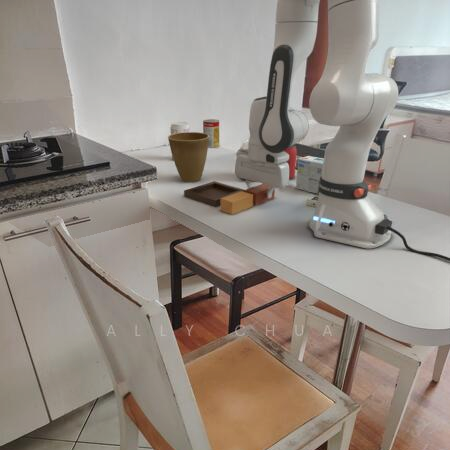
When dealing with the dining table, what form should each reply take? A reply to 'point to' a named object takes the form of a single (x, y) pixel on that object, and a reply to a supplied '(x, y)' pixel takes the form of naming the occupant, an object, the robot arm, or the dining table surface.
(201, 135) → the plant pot
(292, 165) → the beer can
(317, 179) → the light bulb box
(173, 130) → the supplement can
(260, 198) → the reddish brown rectangular block
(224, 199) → the orange rectangular block
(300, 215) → the dining table surface
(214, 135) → the canned food
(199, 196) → the dark brown square tray
